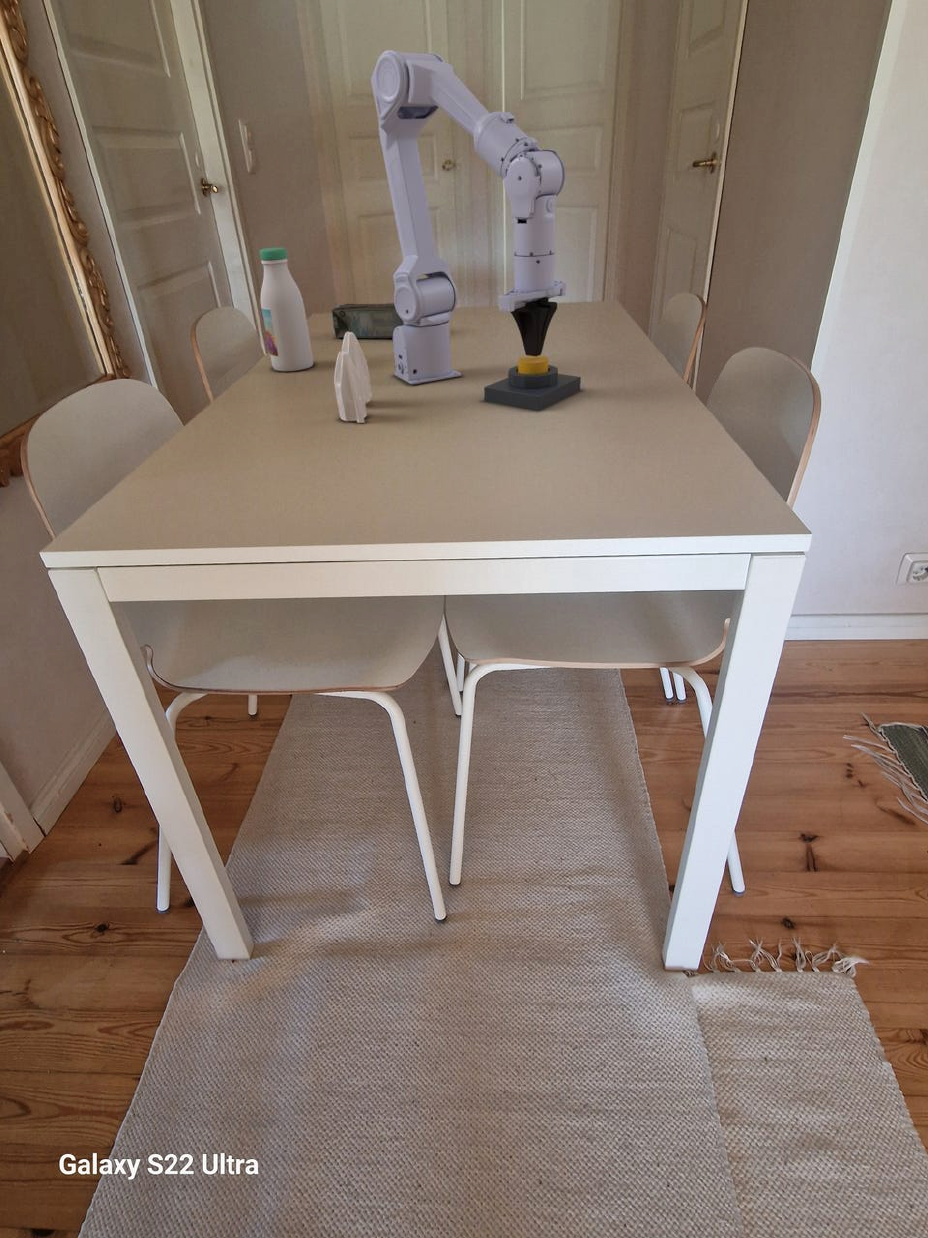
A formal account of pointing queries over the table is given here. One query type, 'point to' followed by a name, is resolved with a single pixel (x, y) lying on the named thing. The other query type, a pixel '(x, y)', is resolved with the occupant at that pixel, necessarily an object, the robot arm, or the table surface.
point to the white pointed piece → (352, 381)
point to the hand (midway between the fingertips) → (533, 354)
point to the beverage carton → (366, 320)
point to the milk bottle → (284, 314)
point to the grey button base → (532, 389)
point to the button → (533, 365)
